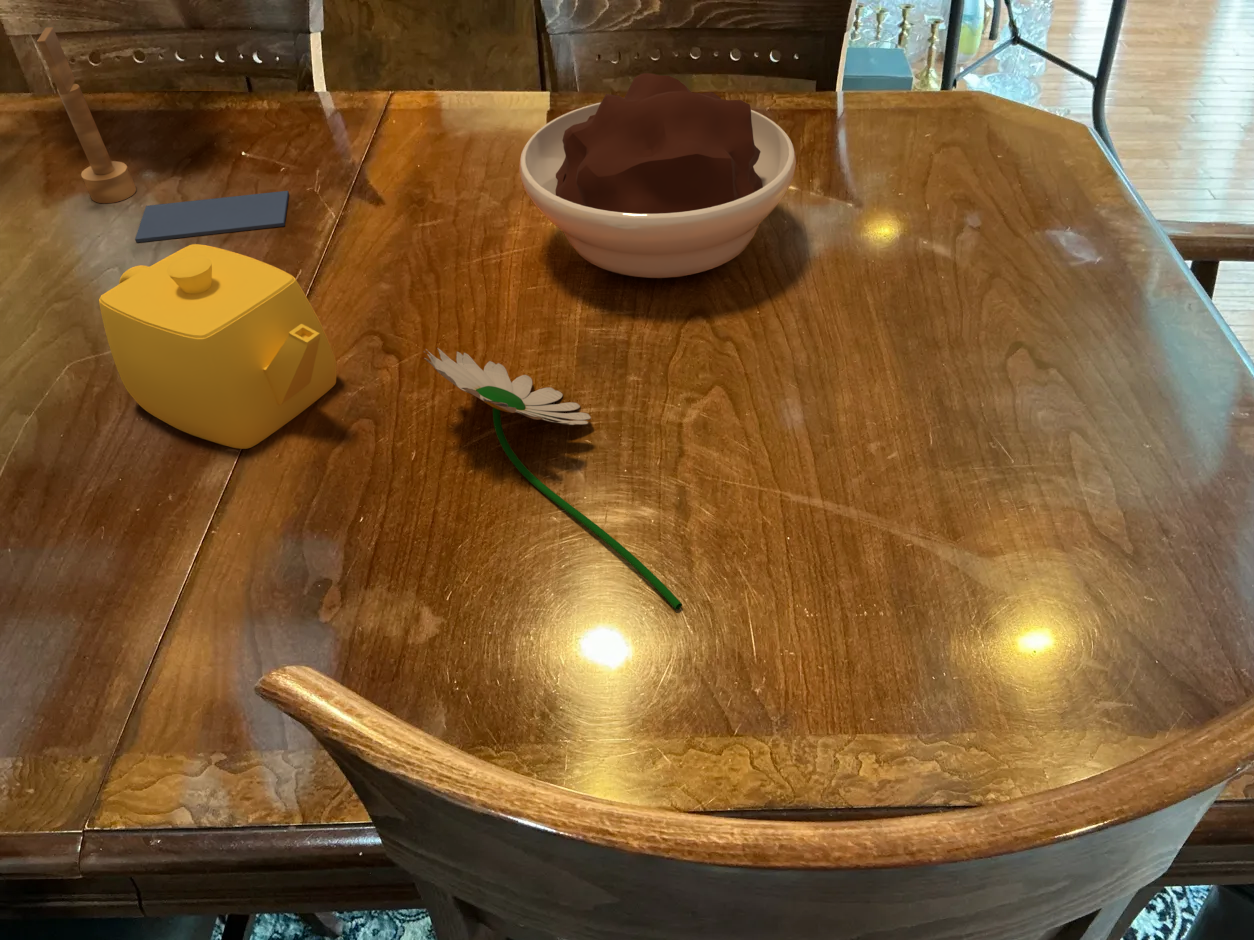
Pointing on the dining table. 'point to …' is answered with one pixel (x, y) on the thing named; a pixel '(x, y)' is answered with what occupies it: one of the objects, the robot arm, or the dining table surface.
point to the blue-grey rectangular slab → (213, 216)
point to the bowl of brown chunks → (658, 177)
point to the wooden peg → (86, 129)
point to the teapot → (217, 344)
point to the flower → (518, 398)
